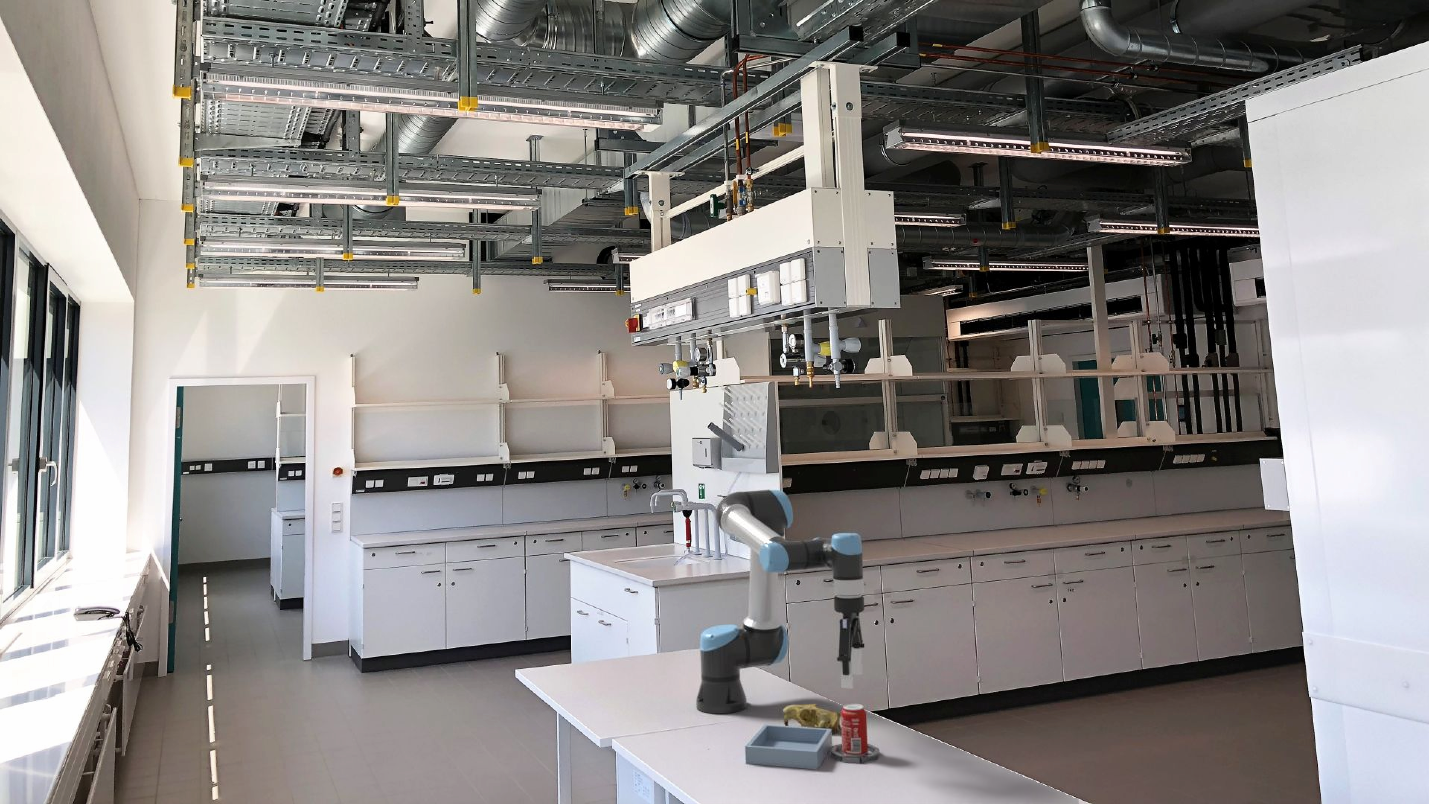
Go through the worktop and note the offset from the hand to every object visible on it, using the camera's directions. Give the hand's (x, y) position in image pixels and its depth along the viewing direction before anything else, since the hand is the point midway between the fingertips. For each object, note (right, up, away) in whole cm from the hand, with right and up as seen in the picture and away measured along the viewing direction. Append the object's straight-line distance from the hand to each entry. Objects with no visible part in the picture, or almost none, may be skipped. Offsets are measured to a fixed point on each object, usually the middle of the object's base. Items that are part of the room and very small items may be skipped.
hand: (852, 680), depth 233 cm
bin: (-16, -19, +2) cm, 25 cm away
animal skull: (-7, -20, +21) cm, 30 cm away
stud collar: (+1, -18, -1) cm, 18 cm away
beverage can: (+1, -19, -1) cm, 19 cm away
